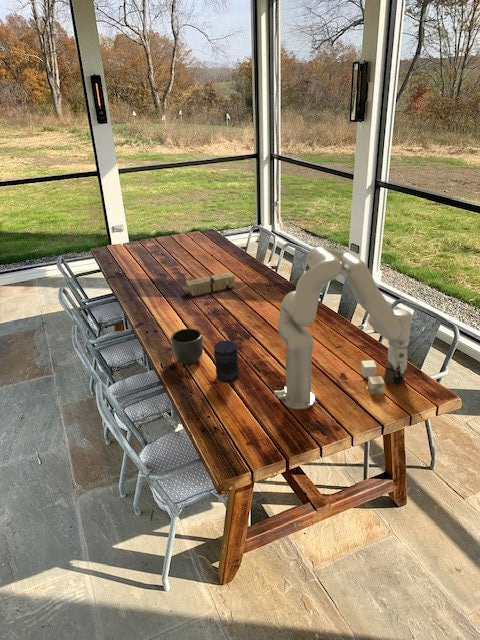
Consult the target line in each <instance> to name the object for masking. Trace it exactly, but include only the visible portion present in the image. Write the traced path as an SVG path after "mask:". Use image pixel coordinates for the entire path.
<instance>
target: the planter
mask: <svg viewBox="0 0 480 640" xmlns="http://www.w3.org/2000/svg"><path fill="white" fill-rule="evenodd" d="M203 341H204V340H203V333H202V331H200V330H198V329H197V328H183V329H179V330H177V331H175V332H174V333H172V335H171V336H170V342H171V348H172V352H173V356H174V357H175V359H176V360H177V361H178V362H180V363H181V364H182V365H184V366H185V365H186V366H189V365H194V364H195V363H198V361H199V360H200V359H201V358H202V355H203V351H204V350H203V349H204V347H203V346H204V344H203V343H204V342H203Z"/></svg>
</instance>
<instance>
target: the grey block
mask: <svg viewBox="0 0 480 640" xmlns="http://www.w3.org/2000/svg"><path fill="white" fill-rule="evenodd" d="M360 365H361V366H360V372H361V374H362V377H363V378H369V377H375V376H377V365H376V363H375V360H371V359H370V360H361V362H360Z"/></svg>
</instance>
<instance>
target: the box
mask: <svg viewBox="0 0 480 640" xmlns="http://www.w3.org/2000/svg"><path fill="white" fill-rule="evenodd" d="M397 369H399V367H398V368H397ZM384 371H385V373H384V379H383V381H384V383H386V384H387V383H388V384H390V385H394V376H395V370H394V369H393V367H392V366H391V364H390V362H389V364H388V363H387V364H386V366H385V370H384ZM405 371H406V370H404V375H403V381H404V380H405V373H406V372H405ZM397 373H400V370H397ZM400 385H401V384H399V385H394V386H397V387H399V386H400Z"/></svg>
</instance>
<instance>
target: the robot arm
mask: <svg viewBox="0 0 480 640" xmlns="http://www.w3.org/2000/svg"><path fill="white" fill-rule="evenodd" d="M306 263H307V266H308V267H309V269H307V270H306V271H305V272H304V273H303V274H302V275H301V276H300V277H299V278H298V281H297V284H296V288H295V290H293V291H290V292H288V293H287V294H286V295H285V296H284V297H283V299H282V301H281V305H280V311H279V316H278V317H279V319H278V324H277V333H278V335H279V337H280V338H281V340H282V341H283V343H284V345H285V347H286V350H287V351H286V356H285V386H284V389H282V390H273V393H274V397H276V396H277V400H278V399H279V400H281V399H282V403H283V404H284V405H285V406H286V407H287V408H289V409H292V410H299V411H300V410H301V411H302V410H307V409H309V408H311V407H312V406H313V405H314V404H315V402H316V401H315V400H316V397H315V394H314V393H312V356H313V351H314V350H313V349H314V346H315V345H314V344H315V343H314V338H313V336H312V334H311V333H310V332H309V330H308V328H306V327H309V326H310V325H312V324H313V323H314V321H315V319H316V314H317V310H318V305H319V299H320V295H321V292H322V289H324V287H325V286H326V285H327V284H328V283H330V282H332V281H333V280H335V279H336V278H337V277H339V276H342V277H343V279H345V281H346V283H347V284H348V286H349V288H350V290H351V292H352V294H353V295H354V297H355V300H356V301H357V303H358V305H360V306H361V308H362V309H363V310H365V312H366V313H368V314H369V316H368V318H367V322H368V324H369V326H370V327H371V329H373V330H374V331H375V332H376V333H377V334H379V335H380V336H381V337H382V338H383V339H385V340H388V341H387V344H388V349H387V365H388V364H389V362H390V364H391V366H392V367H393V369H394V370H395V376H394V386H396V385H399V384H400V385H403V381H404V380H403V375H404V376H405V374H404V370H405V371H406V370H407V366H408V346H409V341H410V333H411V324H412V313H411V312H410V311H409V310H408V309H404V308H398V309H394V310H393V308H392V306H391V305H390V304H389V303H388V301H387V300H386V298H385V297H384V295H383V294H382V293H381V291H380V289H379V287H378V286H377V284H376V283H377V282H376V281H375V279H374V278H373V275H372V273H371V271H370V269H369V267H368V265H367V264H366V262H364V261H363V260H362V259H361V258H359V257H357V256H356V255H354V254H352V253H350V252H345V251H340V250H336V249H332V248H328V247H322V246H316V247H314V248H312V249H310V251H308V253H307V255H306ZM398 367H399V369H397V368H398ZM397 370H400V373H397ZM400 385H399V386H400Z"/></svg>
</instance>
